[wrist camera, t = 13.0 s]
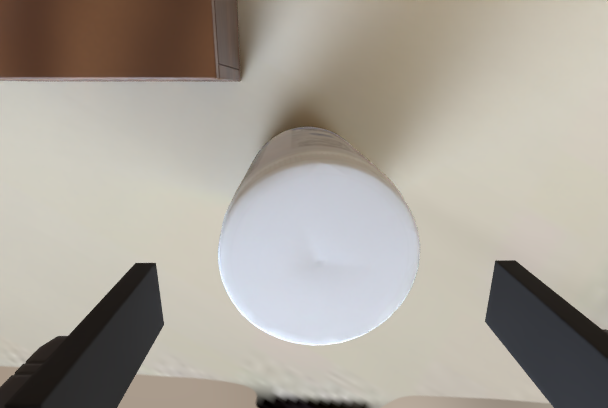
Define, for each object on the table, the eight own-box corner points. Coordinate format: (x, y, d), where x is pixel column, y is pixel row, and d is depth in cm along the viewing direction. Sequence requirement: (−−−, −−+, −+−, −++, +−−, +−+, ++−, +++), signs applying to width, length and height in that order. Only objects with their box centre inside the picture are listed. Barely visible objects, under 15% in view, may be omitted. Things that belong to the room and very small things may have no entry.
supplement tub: (289, 255, 33) (285, 383, 19) (226, 166, 30) (165, 235, 16) (386, 198, 31) (460, 289, 17) (327, 99, 29) (358, 112, 15)
